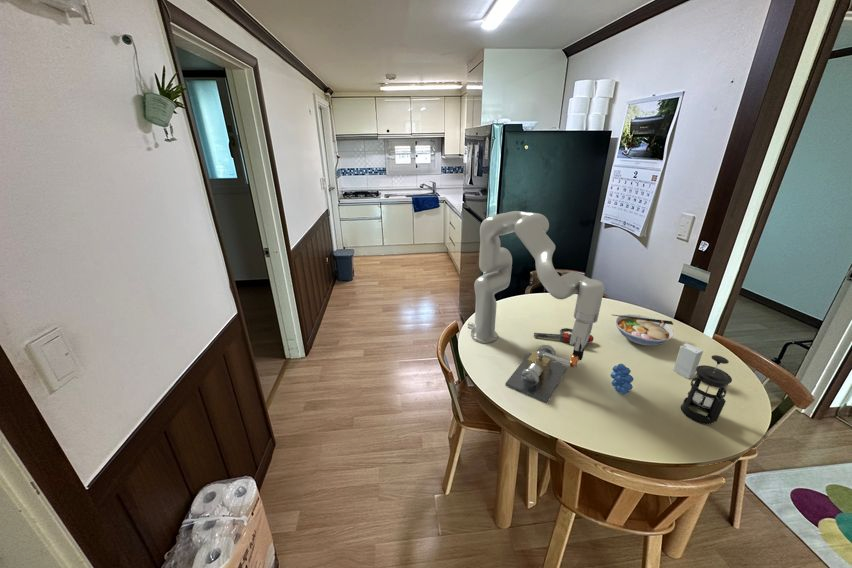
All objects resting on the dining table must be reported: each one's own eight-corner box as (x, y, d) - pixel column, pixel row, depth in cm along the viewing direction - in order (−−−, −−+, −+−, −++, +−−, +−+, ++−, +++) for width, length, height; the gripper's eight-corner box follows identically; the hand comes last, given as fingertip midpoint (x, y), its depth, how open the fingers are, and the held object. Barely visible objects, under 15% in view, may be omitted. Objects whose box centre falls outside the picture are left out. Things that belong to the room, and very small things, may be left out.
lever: (535, 355, 127) (536, 345, 125) (537, 352, 129) (539, 341, 127) (574, 370, 119) (577, 359, 117) (577, 366, 121) (579, 355, 119)
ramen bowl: (611, 347, 149) (615, 332, 145) (607, 323, 168) (610, 309, 165) (678, 360, 140) (684, 343, 137) (665, 332, 159) (670, 317, 156)
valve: (588, 336, 161) (595, 350, 147) (532, 332, 168) (534, 345, 154) (589, 324, 159) (596, 337, 145) (533, 320, 166) (534, 332, 152)
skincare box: (694, 376, 130) (704, 350, 125) (688, 379, 129) (698, 353, 124) (678, 367, 135) (687, 342, 131) (671, 370, 134) (680, 345, 129)
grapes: (638, 403, 118) (647, 376, 113) (619, 403, 118) (626, 376, 113) (622, 381, 128) (629, 355, 124) (604, 381, 129) (610, 355, 124)
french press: (673, 401, 118) (693, 347, 109) (700, 402, 118) (723, 348, 108) (695, 428, 108) (719, 371, 98) (725, 429, 107) (753, 371, 98)
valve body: (505, 385, 127) (507, 364, 123) (528, 354, 145) (531, 335, 141) (546, 403, 118) (550, 381, 114) (566, 368, 136) (570, 348, 132)
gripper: (580, 303, 122) (572, 345, 129) (568, 320, 111) (560, 364, 118) (602, 308, 118) (592, 351, 125) (592, 326, 107) (582, 372, 114)
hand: (577, 357), depth 122 cm, fingers closed
